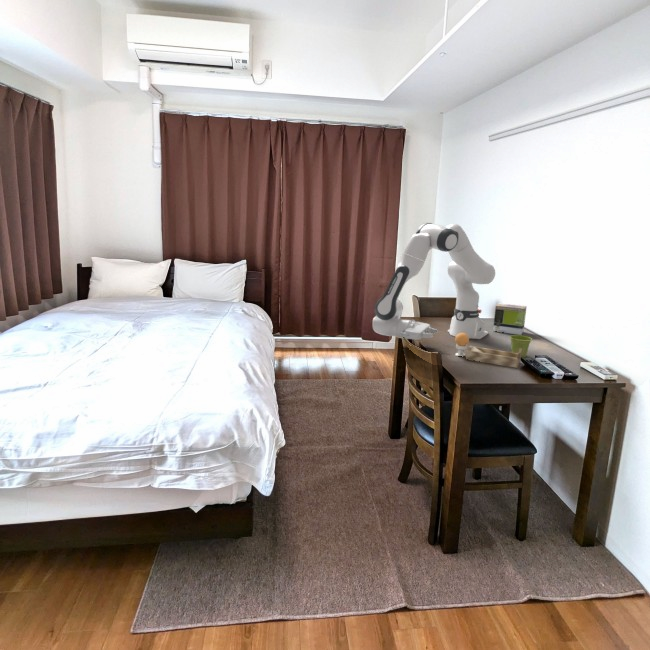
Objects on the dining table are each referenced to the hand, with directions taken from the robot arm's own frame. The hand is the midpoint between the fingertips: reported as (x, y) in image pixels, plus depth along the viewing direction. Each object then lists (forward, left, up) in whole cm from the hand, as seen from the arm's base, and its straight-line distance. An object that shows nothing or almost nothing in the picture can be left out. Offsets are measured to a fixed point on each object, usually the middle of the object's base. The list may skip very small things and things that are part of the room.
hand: (435, 333), depth 220 cm
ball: (-4, +11, -4) cm, 13 cm away
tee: (-4, +11, -8) cm, 15 cm away
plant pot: (-26, +28, -9) cm, 40 cm away
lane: (-9, +25, -8) cm, 28 cm away
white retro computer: (-66, +4, -9) cm, 67 cm away
